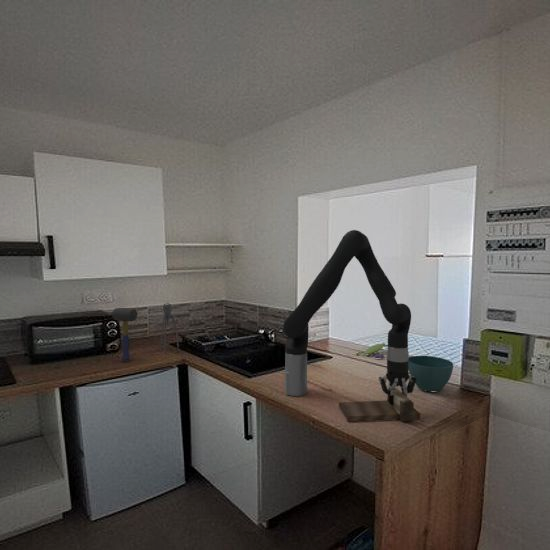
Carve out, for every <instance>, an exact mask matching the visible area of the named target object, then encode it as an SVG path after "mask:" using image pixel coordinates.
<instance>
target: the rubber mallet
mask: <svg viewBox="0 0 550 550" xmlns="http://www.w3.org/2000/svg"><path fill="white" fill-rule="evenodd" d="M111 314H112V318H113V320H114V321H120V322H122V338H121V347H122V356H121V357H122V361H123V362H129V361H130V360H131V356H130V337H129V331H128V330H129V329H128V327H129V325H128V322H134V321H136V320H137V318H138V311H137V309H135V308H132V307H131V308H130V307H116V308H114V309H113V310H112V313H111Z"/></svg>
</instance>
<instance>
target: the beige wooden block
mask: <svg viewBox="0 0 550 550" xmlns="http://www.w3.org/2000/svg"><path fill="white" fill-rule="evenodd" d="M393 396H394V401H393V405H391V406H392V407H393V408H394V409H395V410H396V411H397V412H398V413H399V414H400V420H399V421H401V422H414V420H415V419H414V408H415V407H414V404H415V403H414V402H413V400H411V399H410V398H409V397H408V395H407V396H405V395H404V394H403V393H402V390H401V389H399V388H397V387H396V388H395V390H394V393H393ZM386 401H387V402H388V394H386ZM388 403H389V402H388ZM389 404H390V403H389Z"/></svg>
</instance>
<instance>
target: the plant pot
mask: <svg viewBox="0 0 550 550" xmlns="http://www.w3.org/2000/svg"><path fill="white" fill-rule="evenodd" d="M453 369H454V363H453V362H452V360H449V359H447V358H443V357H437V356H431V355H413V356H409V371H408V373H409V375H410V376H414V377H415V378H416V383H415V386H416V387H418V389H419V388H420V390H421V389H422V390H421V391H423V390H426V391H439V390H440V391H442V389H444V387H446V385H447V384H448V382H449V380H450V379H451V377H452V373H453ZM426 391H425V392H426ZM440 391H439V392H440Z"/></svg>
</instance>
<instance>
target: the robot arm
mask: <svg viewBox="0 0 550 550" xmlns="http://www.w3.org/2000/svg"><path fill="white" fill-rule="evenodd" d="M354 258H355V259H356V260H357V261H358V262H359V264H360V265H361V267H362V269H363V271H364V273H365V275H366V279H367V281H368V284H369V286H370V287H371V290H372V292H373V293H374V294H375V297H376V299H377V300H378V302H379V306H380V309H381V313H382V315H383V318H384V319H385V320H386V321H387V322H388V323H390V325H391V329H390V330H389V331H388V332H387V345H388V347H386V348H387V349H386V374H385V376H379V377H378V380H379V383H380V387H381V390H382V392H383V393H384V394H385V395H387V394H388V402H389V403H390V405H393V401H394V396H393V393H394V390H395V388H397V387H400V391H401V392H402V393H403V394H404V395H405V396H407V397H408V395H409V394H412V393H413V391H414V388H415V386H416V384H415V383H416V378H415V377H414V376H411V375H410V373H409V357H410V355H409V353H410V352H409V331H410V326H411V322H412V311H411V309H410V307H409V306H408V305H407V304H405V303H398V302H397V300H396V295H397V292H396V289H395V288H394V286H393V284H392V283H391V280H390V279H389V278H388V276H387V275H386V273H385V272H384V270H383V268H382V267H381V265H380V264H379V261H378V259H377V256H375V254H374V250H373V248H372V246H371V243H370V240H369V237H368V236H367V235H366V234H364V233H363V232H361V231H359V230H356V229H352V230H349V231H347V232H346V233H345V234H344V235H343V236H342V238H341V239H340V241H339V243H338V245H337V246H336V249H335V250H334V252H333V254H332V256H331V257H330V258H329V260H328V261H327V262H326V264H325V265H324V267H322V269H321V270H320V272H319V273H318V275H317V276H316V278H315V279H314V280H313V282H312V283H311V284H310V285H309V288H308V289H307V291H306V293H305V294H304V296H303V297H302V299H301V301H299V302H300V303H299V304H298V305H297V306H296V308H294V310H293V311H292V312H291V313H290V314H289V315H288V316H287V318H286V319H285V321H284V322H283V325H282V326H283V327H282V330H283V333H284V335H285V336H286V343H285V348H284V352H285V353H284V354H285V355H284V357H285V358H284V360H285V361H284V362H285V363H284V364H285V366H284V391H285V395H286V396H293V397H301V396H304V395H306V394H307V393H308V346H309V323H310V321H311V319H312V318H313V317H314V315H315V314H316V313H317V312H318V311H319V310H320V309H321V308H322V307H323V306H324V305H325V304H326V303H327V302H328V301H329V299H330V298H331V297H332V295H333V293H335V291H336V290H337V289H338V288H339V285H340V283H341V280H342V278H343V274H344V273H345V269H346V268H347V266H348V265H349V263H350V262H351V261H352V260H353V259H354ZM387 381H388V385H387V384H386V383H387ZM407 381H408V382H407Z"/></svg>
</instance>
